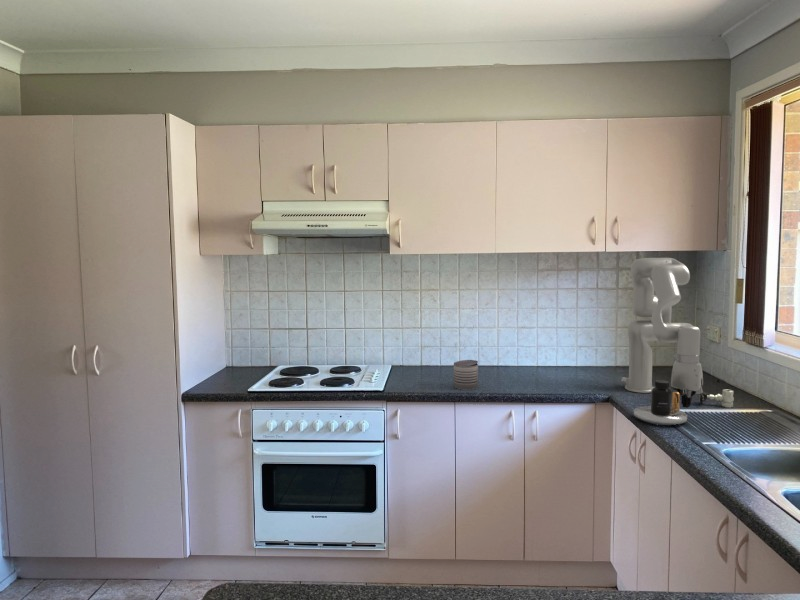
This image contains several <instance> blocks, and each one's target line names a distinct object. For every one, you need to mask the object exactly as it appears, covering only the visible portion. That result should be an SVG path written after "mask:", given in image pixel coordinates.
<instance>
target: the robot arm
mask: <svg viewBox="0 0 800 600" xmlns="http://www.w3.org/2000/svg"><path fill="white" fill-rule="evenodd" d="M630 275H631V280H632V284H633V286H632V287H633V290H632V313H633V315H635V316H636V317H641V318H650V319H635V320H632V321H631V322H629V324H628V325H627V337H628V342H629V344H628V346H629V347H628V348H629V357H628V358H629V359H628V360H629V361H628V377H625V376H622V377H621V383H625V386H624V388H625V390H626V391H629V392H632V393H633V392H634V393H638V394H639V393H643V394H648V393H652V389H653V388H654V387H655V386H653V382H652V381H653V350H652V347H651V346H650V345H649V342H660V343H677V344H676V345H677V347H676V353H674V354H672V358H674V359H676V360H674V362H673V365H672V369H671V375H670V376H671V377H670V386H671V388H670V389H672V390H674V391H675V392H679V393H680V396H681V401H680V402H681V405H682V407H683V408H689V407H690V406H692V397H693V396H694V395H699V394H701V393H703V392H704V391H703V390H702V388H703V387H704V377H703V376H704V375H703V368H702V366H703V365H702V363H700V349H701V347H700V346H701V329H700V328H699V327H698V326H695V325H692V323H689V322H688V323H687V322H672V313H673V312H672V307H673V306H675V305H677V304H678V303H680V301H682V300H681V299H682V296H681V292H680V289H679V286H684V285H687V284H688V283H689V282H690V279H691V273H690V270H689V268H688V267H687V266H686V265H685V264H684V263H682V262H680V261H679V260H677V259H675V258H674V257H673V258H672V257H644V258H637V259H634V261H633V262H632V263H631V266H630Z"/></svg>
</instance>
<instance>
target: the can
mask: <svg viewBox="0 0 800 600" xmlns="http://www.w3.org/2000/svg"><path fill="white" fill-rule="evenodd" d="M454 387H455V388H454ZM477 387H479V361H478V360H474V359H462V360H458V361H455V362H453V388H454V389H456V388H458V389H457V390H460V389H463V390H462V391H472V390H471V389H473V390H477V389H478V388H477ZM476 388H477V389H476ZM467 389H468V390H467Z"/></svg>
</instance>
